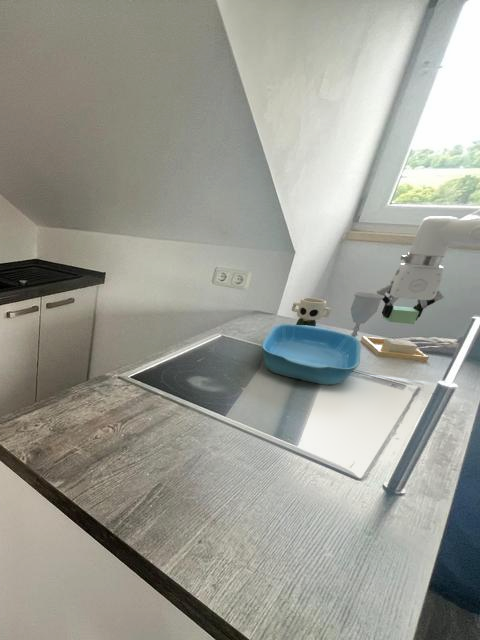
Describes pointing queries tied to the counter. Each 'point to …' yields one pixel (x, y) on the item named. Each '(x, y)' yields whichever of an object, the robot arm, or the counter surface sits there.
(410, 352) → the beige block
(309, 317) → the character mug
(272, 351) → the casserole dish
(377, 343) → the backing tray
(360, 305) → the chalice
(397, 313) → the green block
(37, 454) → the counter surface
